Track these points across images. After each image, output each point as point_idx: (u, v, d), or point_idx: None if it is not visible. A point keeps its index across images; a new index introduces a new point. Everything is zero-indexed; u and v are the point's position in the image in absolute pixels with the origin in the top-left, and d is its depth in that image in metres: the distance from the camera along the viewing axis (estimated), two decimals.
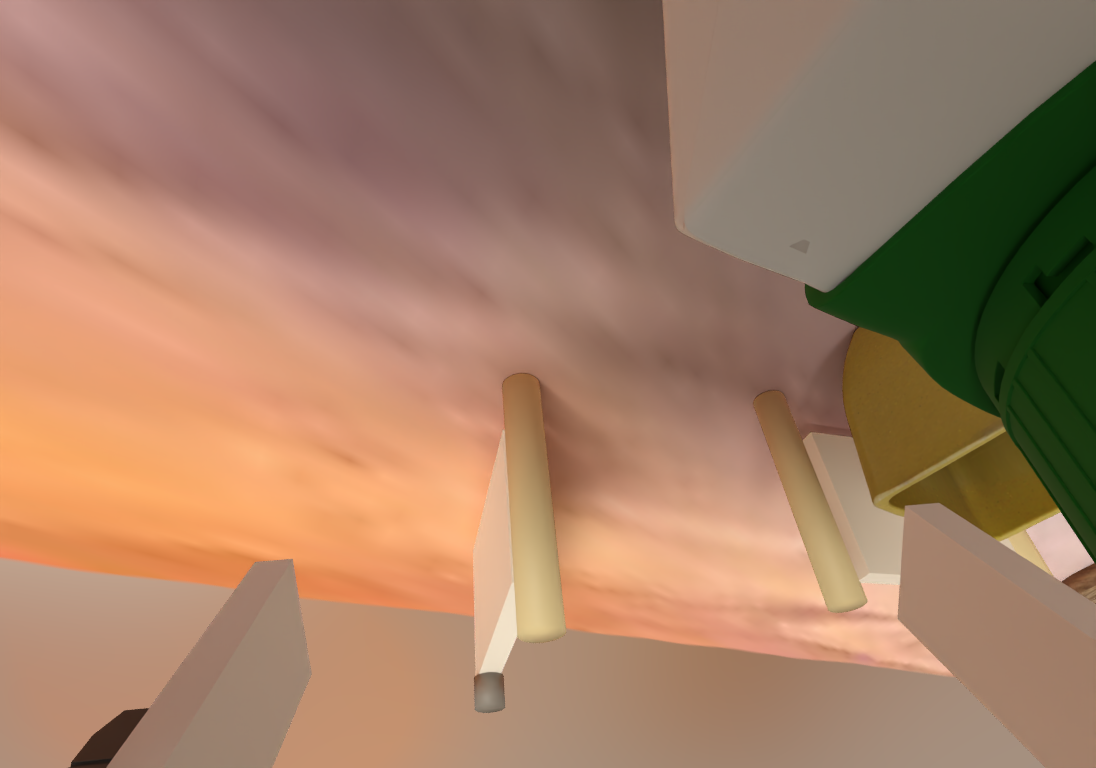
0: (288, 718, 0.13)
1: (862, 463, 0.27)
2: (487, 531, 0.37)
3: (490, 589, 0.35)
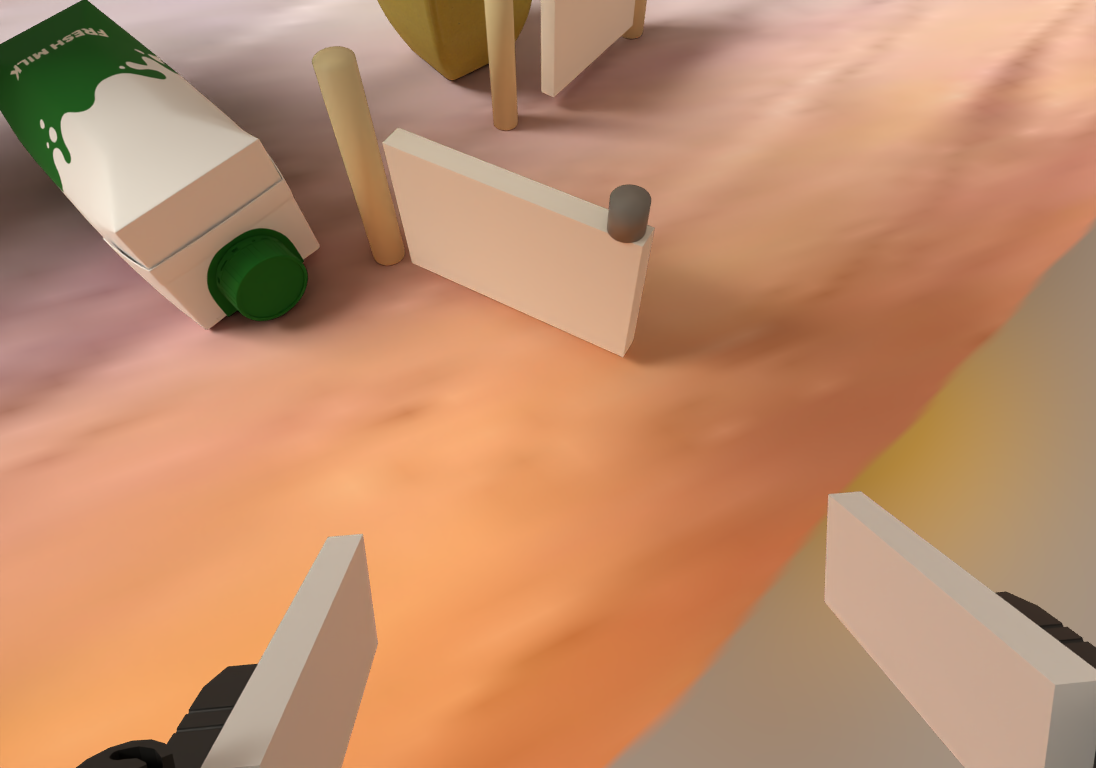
0: (363, 681, 0.14)
1: None
2: (510, 281, 0.34)
3: (501, 230, 0.31)
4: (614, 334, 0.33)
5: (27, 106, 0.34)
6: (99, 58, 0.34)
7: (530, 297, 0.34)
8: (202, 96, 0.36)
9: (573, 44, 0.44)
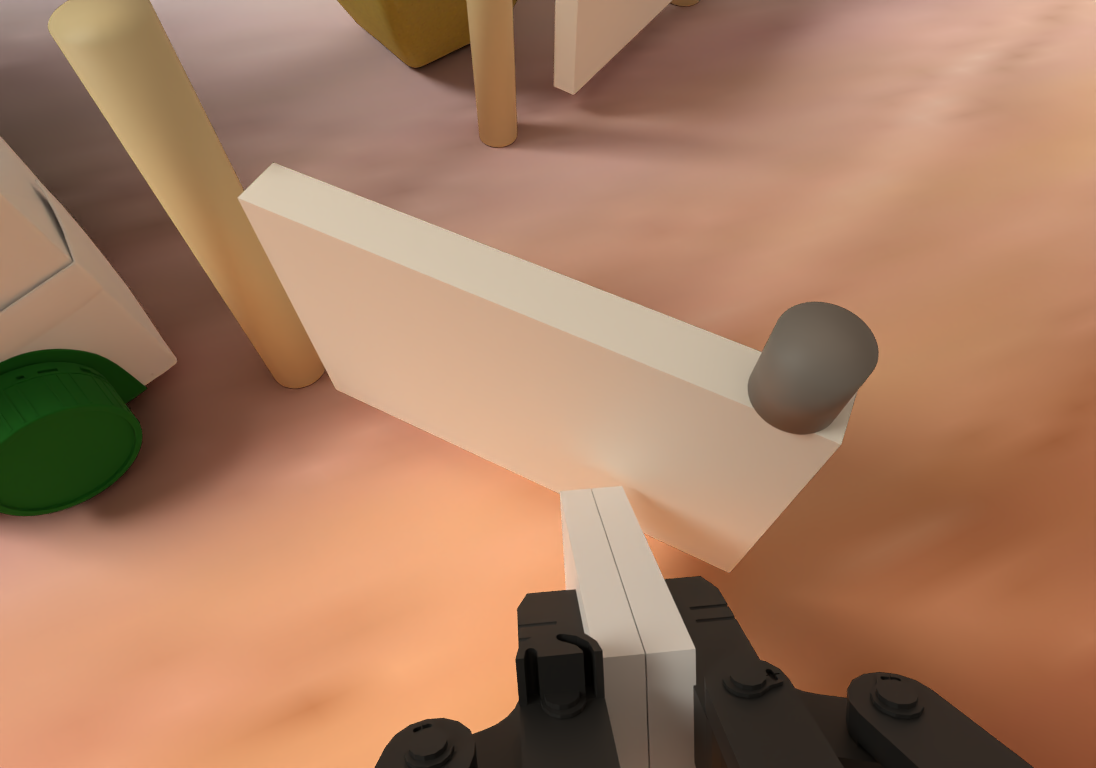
0: None
1: None
2: (514, 441, 0.18)
3: (498, 368, 0.15)
4: (719, 545, 0.17)
5: None
6: None
7: (553, 468, 0.18)
8: None
9: (606, 10, 0.27)
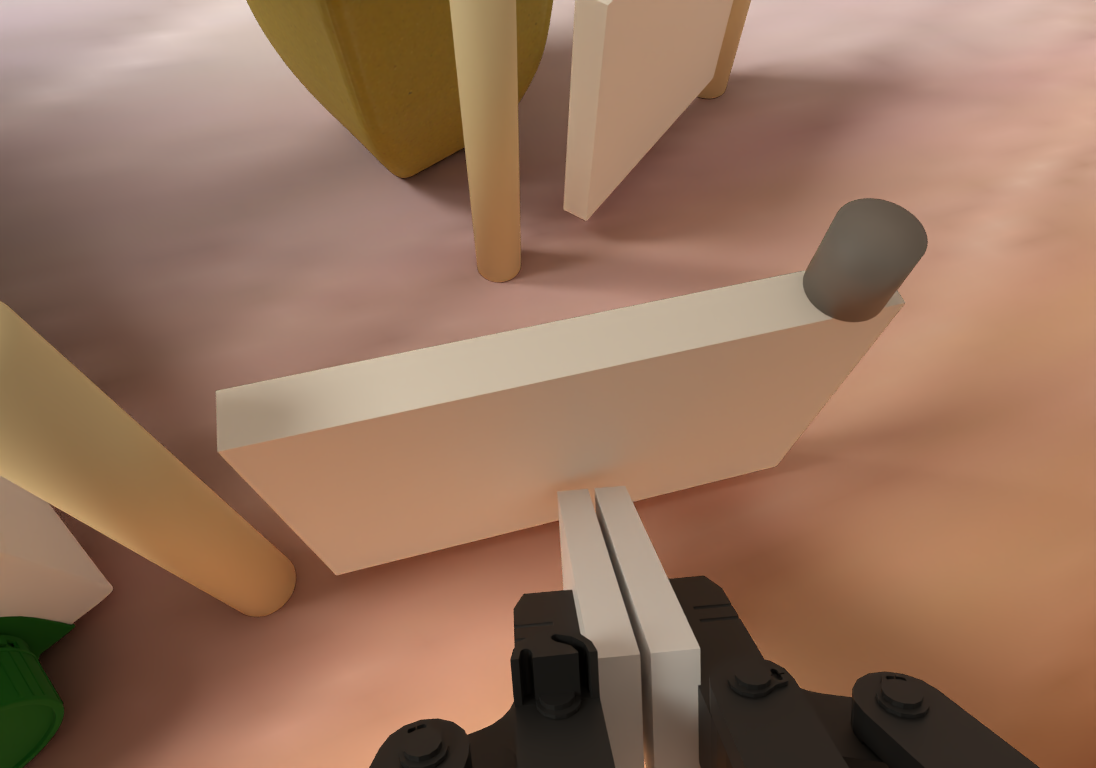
0: None
1: (339, 50, 0.20)
2: None
3: (563, 434, 0.14)
4: (772, 449, 0.19)
5: None
6: None
7: None
8: None
9: (625, 130, 0.23)
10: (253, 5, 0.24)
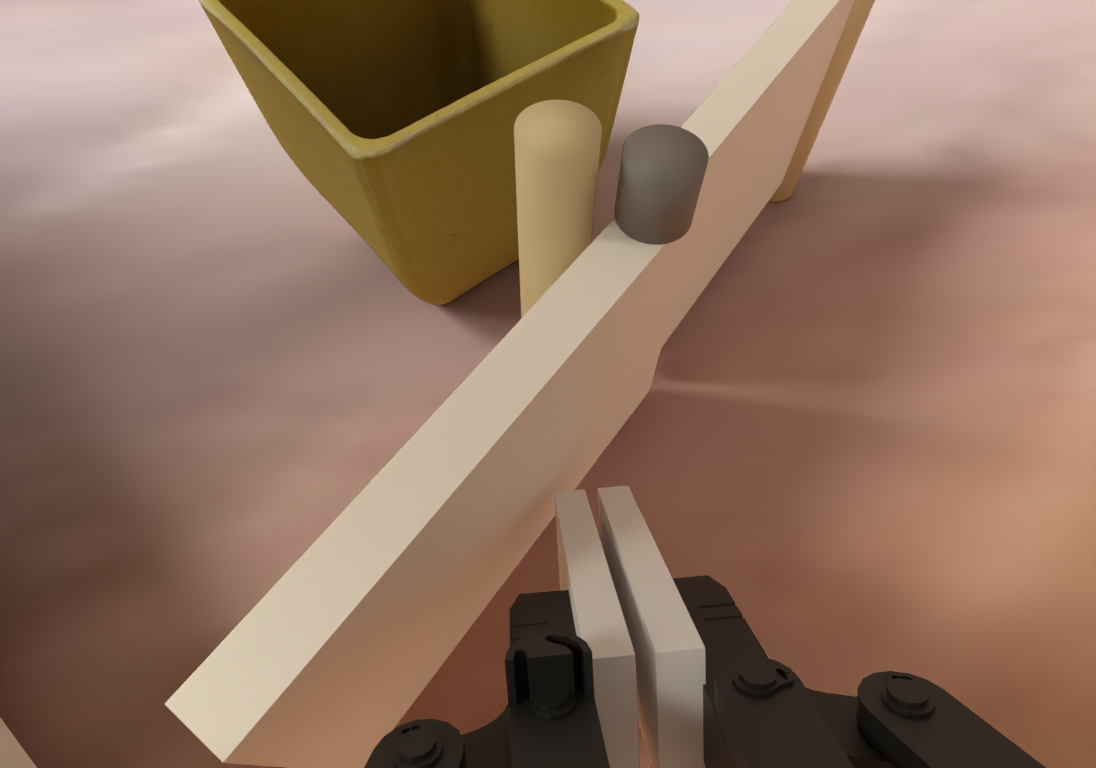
0: None
1: (375, 206, 0.17)
2: (522, 530, 0.17)
3: (510, 485, 0.14)
4: (645, 378, 0.20)
5: None
6: None
7: (549, 503, 0.18)
8: None
9: (698, 268, 0.20)
10: (273, 126, 0.21)
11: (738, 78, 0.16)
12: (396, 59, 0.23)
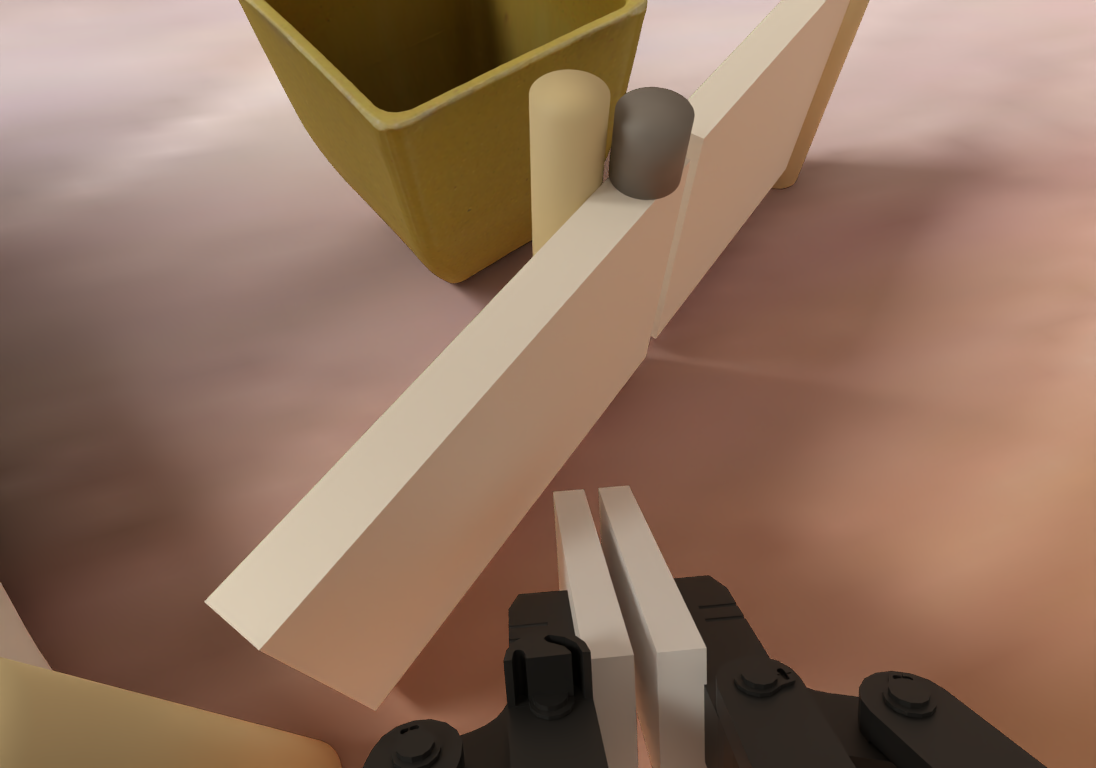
0: None
1: (397, 178, 0.18)
2: (526, 481, 0.18)
3: (515, 426, 0.15)
4: (641, 342, 0.21)
5: None
6: None
7: (552, 457, 0.19)
8: None
9: (702, 244, 0.21)
10: (298, 109, 0.22)
11: (740, 58, 0.17)
12: (415, 48, 0.24)
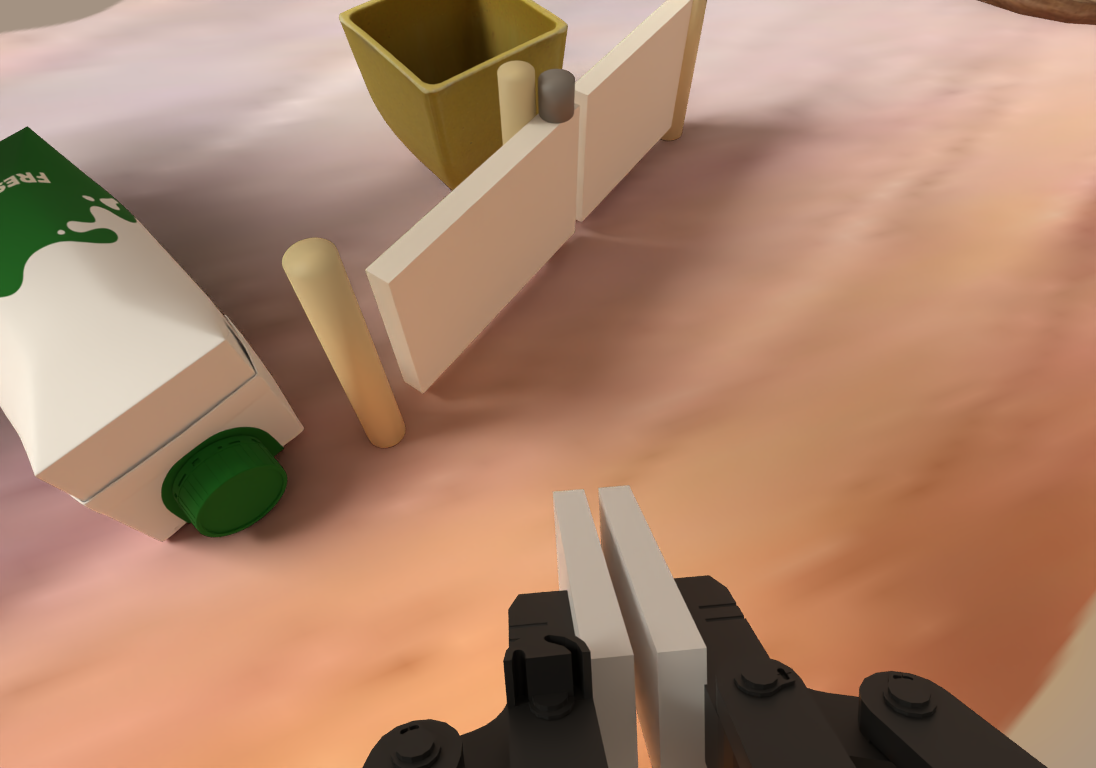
0: None
1: (432, 120, 0.33)
2: (501, 279, 0.33)
3: (492, 232, 0.30)
4: (569, 217, 0.36)
5: None
6: (34, 219, 0.28)
7: (516, 273, 0.34)
8: (163, 256, 0.30)
9: (605, 164, 0.37)
10: (371, 88, 0.38)
11: (612, 55, 0.33)
12: (438, 53, 0.40)
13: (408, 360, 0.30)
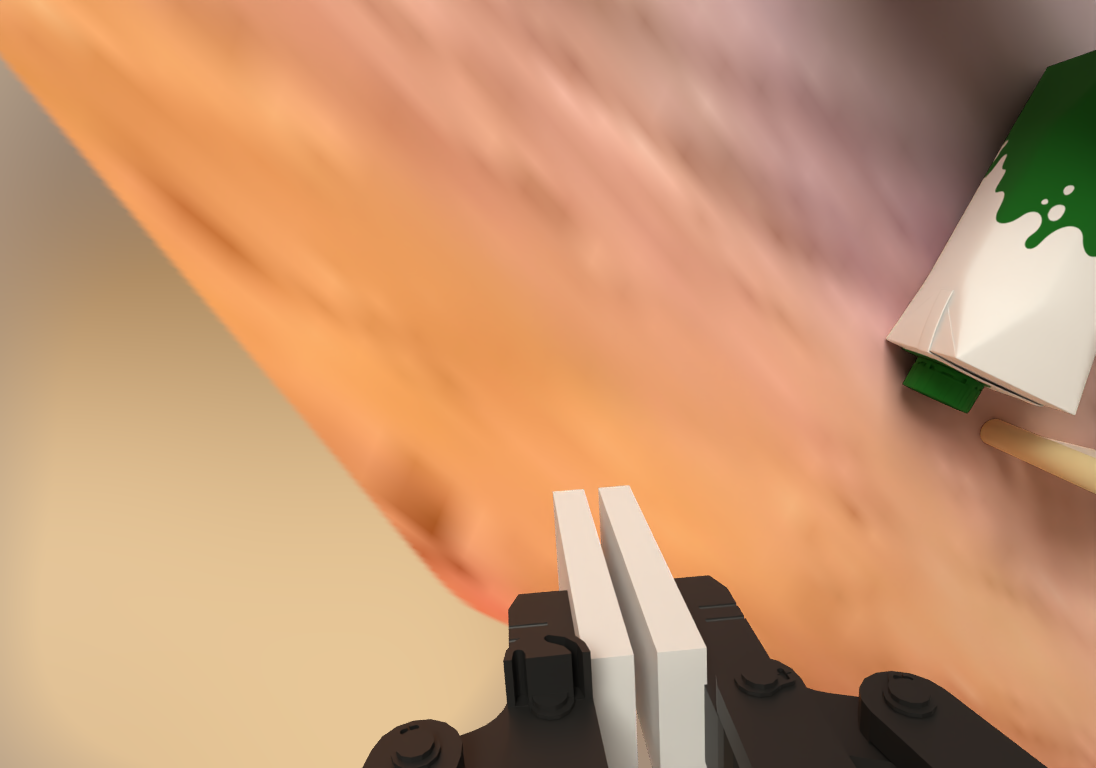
0: None
1: None
2: None
3: None
4: None
5: (1090, 157, 0.34)
6: None
7: None
8: None
9: None
10: None
11: None
12: None
13: None
